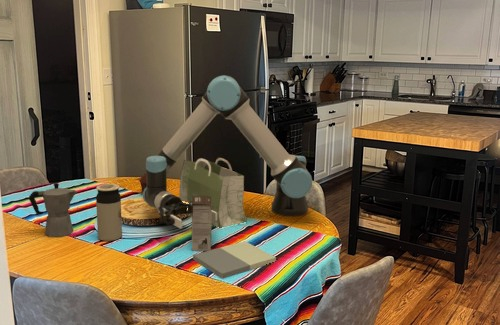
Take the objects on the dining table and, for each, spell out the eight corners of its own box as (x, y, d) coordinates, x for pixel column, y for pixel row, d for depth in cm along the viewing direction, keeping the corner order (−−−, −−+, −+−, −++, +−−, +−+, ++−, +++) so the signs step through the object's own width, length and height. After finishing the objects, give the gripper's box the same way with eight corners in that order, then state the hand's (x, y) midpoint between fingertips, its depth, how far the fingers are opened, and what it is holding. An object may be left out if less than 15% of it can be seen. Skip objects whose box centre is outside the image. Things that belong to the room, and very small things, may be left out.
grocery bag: (250, 222, 183) (251, 163, 178) (219, 230, 175) (220, 168, 170) (206, 201, 208) (206, 149, 203) (177, 207, 200) (177, 152, 195)
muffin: (145, 189, 224) (144, 169, 222) (168, 191, 222) (167, 170, 220) (135, 197, 212) (135, 175, 210) (160, 198, 211) (159, 176, 209)
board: (244, 245, 161) (244, 241, 160) (275, 261, 148) (275, 257, 148) (193, 259, 149) (193, 254, 148) (222, 278, 136) (222, 273, 136)
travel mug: (93, 240, 162) (91, 189, 158) (104, 232, 170) (102, 183, 166) (116, 242, 161) (113, 190, 157) (125, 234, 168) (124, 184, 165)
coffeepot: (79, 226, 175) (76, 178, 171) (79, 235, 166) (76, 185, 162) (32, 230, 169) (29, 181, 166) (30, 240, 161) (26, 188, 157)
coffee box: (192, 240, 164) (192, 195, 160) (211, 240, 164) (211, 195, 161) (191, 251, 155) (191, 203, 152) (211, 250, 156) (211, 203, 152)
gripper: (198, 208, 183) (230, 224, 166) (137, 220, 168) (165, 238, 152) (198, 189, 181) (230, 203, 165) (136, 199, 166) (164, 216, 150)
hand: (199, 220), depth 158 cm, fingers open, 13 cm apart
